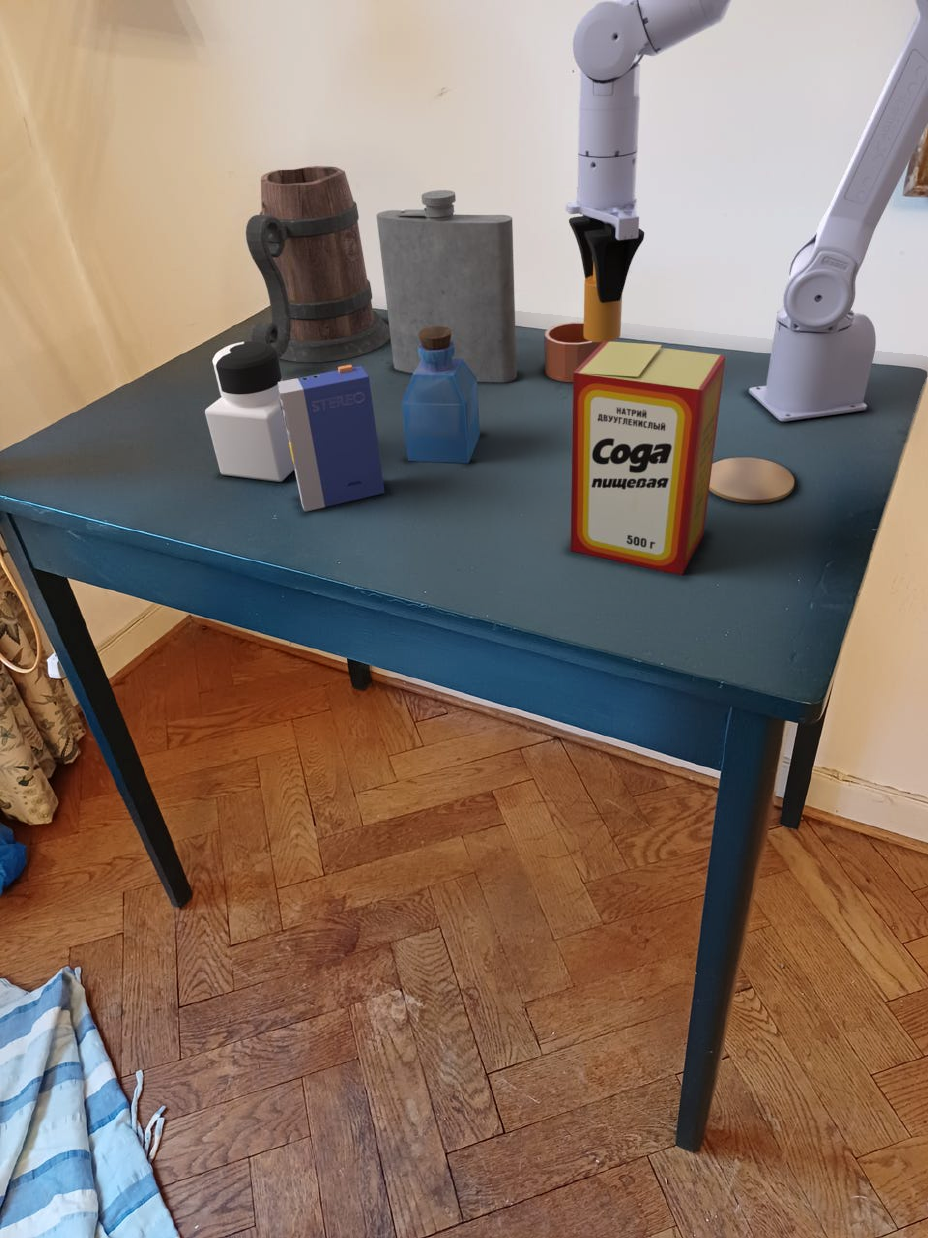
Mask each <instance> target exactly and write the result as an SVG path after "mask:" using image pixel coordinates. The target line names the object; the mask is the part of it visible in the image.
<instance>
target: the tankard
mask: <svg viewBox="0 0 928 1238" xmlns="http://www.w3.org/2000/svg"><path fill="white" fill-rule="evenodd" d="M260 203H261V204H260V205H261V206H260V207H261V209H260V210H261V211H260V213H259V214H255V215H253V216H251V217H250V218H249V220H247V224H246V227H245V239H246V240H245V241H246V244H247V247H248V251H249V253H250V256H251V258H252V260H253V261H254V263H255V265H256V267H257V269H258V270H259V272H260V274H261V276H262V278H263V280H264V283H265V287H266V289H267V293H268V294H267V295H268V299H269V305H270V306H269V307H270V315H271V322H261V321H258V322H257V323H255V324H254V325H253V326H252V328H251V332H250V341H255V342H261V343H266V344H269V345H271V346H272V347H273V348H274V349H276V351H277V356H278V359H281V360H283V361H284V360H285V361H290V362H295V363H297V362H298V363H325V362H334V361H335V362H336V361H341V360H347V359H350V358H355V357H359V356H362V355H365V354H367V353H370V352H372V351H375V350H377V349H379V348H380V347H382V346H383V345H385V344H386V343H387V342H388V341H389V340H391V337H390V328H389V324H387V322H385V321H384V320H383V318H382V316H381V315H380V313H378V312H377V311H375V310H374V307H373V303H372V300H373V292H372V291H373V290H372V285H371V281H370V280H369V279H368V275H367V269H366V263H365V257H364V252H363V246H362V239H361V234H360V233H361V232H360V228H359V218H360V216H359V211H358V203H357V202H356V201H354V197H353V193H352V191H351V188H350V183H349V181H348V177H347V174H346V171H345V170H344V169H341V168H339V167H337V166H325V165H324V166H321V165H320V166H319V165H313V166H312V165H311V166H304V167H300V168H299V167H298V168H295V169H276V170H271V171H269V172H266V173H264V174H263V175H262V176H261V177H260Z"/></svg>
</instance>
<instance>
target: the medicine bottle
mask: <svg viewBox="0 0 928 1238" xmlns="http://www.w3.org/2000/svg"><path fill="white" fill-rule="evenodd" d="M212 365H213V369H214V373H215V377H216V382H217V385H218V390H219V394H220V396H221V397H219V398H218V399H217V400H215V401H214V402H213V403H212V404H210V405H208V407H207V408H206V409H204V415H205V419H206V422H207V426H208V430H209V433H210V437H211V441H212V446H213V450H214V452H215V457H216V461H217V464H218V469H219V472H220V474H221V475H222V476H227V477H236V478H244V479H252V480H261V481H267V482H268V481H269V482H276V483H277V482H278V483H282V482H284V481H285V479H286V478H287V477H288V476H289V475H290V474H291V473H293V472H294V471H295V469H294V464H293V459H292V455H291V450H290V446H289V439H288V434H287V429H286V427H284V424H283V419H282V414H281V409H280V404H279V400H278V399H280V396H279V390H278V388H279V386H278V382H281V381H283V376H282V371H281V367H280V362H279V358H278V356H277V351H276V349H274V348H273V347H272V346H271V345H269V344H266V343H261V342H255V341H251V340H250V341H249V340H248V341H241V342H237V343H236V342H235V343H232V344H229V345H227V346H225V347H223V348H222V349H220V350H219V351H217V352H216V353H215V354H214V356H213V358H212Z"/></svg>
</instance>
